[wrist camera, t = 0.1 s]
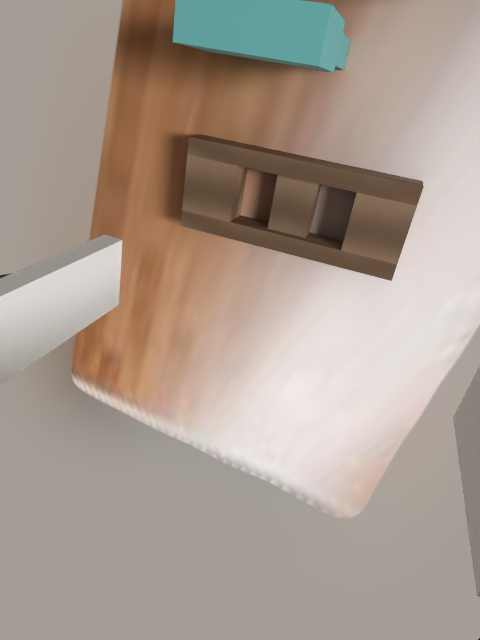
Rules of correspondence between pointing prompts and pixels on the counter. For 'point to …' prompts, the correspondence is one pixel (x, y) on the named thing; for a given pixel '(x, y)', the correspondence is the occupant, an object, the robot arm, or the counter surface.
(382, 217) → the rail
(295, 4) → the notched teal block
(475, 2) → the counter surface
